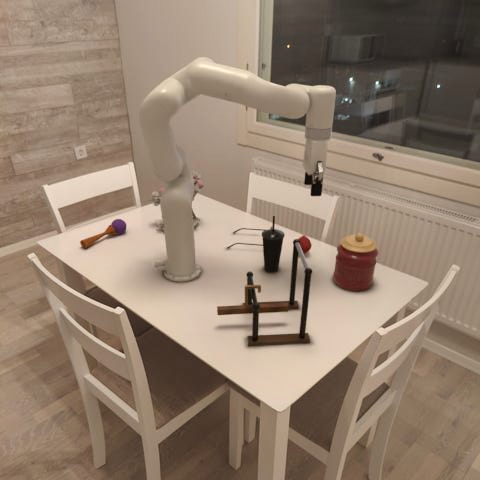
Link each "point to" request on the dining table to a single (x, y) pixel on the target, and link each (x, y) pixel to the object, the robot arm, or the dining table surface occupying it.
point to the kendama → (106, 232)
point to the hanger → (248, 308)
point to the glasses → (245, 243)
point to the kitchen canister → (355, 262)
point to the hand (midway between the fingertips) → (312, 190)
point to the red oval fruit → (305, 244)
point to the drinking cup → (272, 248)
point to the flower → (196, 177)
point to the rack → (292, 304)
